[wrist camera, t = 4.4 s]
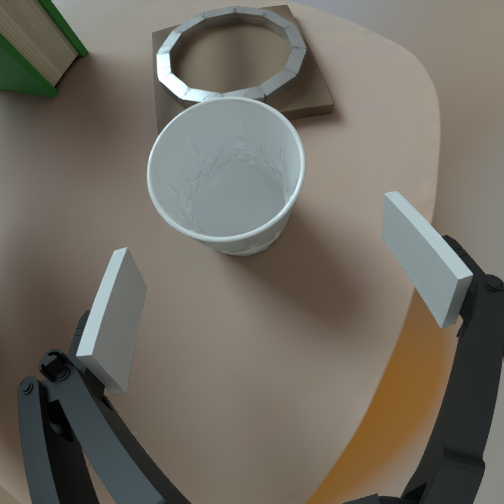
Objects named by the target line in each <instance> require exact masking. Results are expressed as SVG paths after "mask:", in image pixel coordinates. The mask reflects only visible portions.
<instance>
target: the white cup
mask: <svg viewBox="0 0 504 504" xmlns="http://www.w3.org/2000/svg"><path fill="white" fill-rule="evenodd" d="M305 171H306V158H305V152H304V147H303V144H302V141H301V139H300V137H299V135H298V133H297V131H296V130H295V128H294V127H293V125H292V124H291V123H290V122H289V120H288V119H287V118H286V117H285V116H283V115H282V114H281V113H280V112H278V111H277V110H276V109H274V108H272V107H271V106H269V105H267V104H265V103H262V102H260V101H257V100H253V99H249V98H243V97H220V98H214V99H210V100H206V101H203V102H200V103H198V104H196V105H193V106H191V107H190V108H188V109H186V110H184V111H183V112H181V113H180V114H179V115H177V116H176V117H175V118H174V119H173V120H172V121H170V122H169V123H168V125H167V126H166V127H165V128H164V129H163V130H162V132H161V133H160V135H159V136H158V138H157V139H156V141H155V143H154V145H153V148H152V150H151V153H150V156H149V160H148V166H147V184H148V190H149V194H150V197H151V199H152V202H153V204H154V206H155V207H156V209H157V211H158V212H159V214H160V215H161V216H162V217H163V219H164V220H165V221H166V222H167V223H169V224H170V225H171V226H172V227H173V228H175V229H176V230H178V231H179V232H181V233H183V234H185V235H187V236H189V237H191V238H192V239H194V240H196V241H198V242H200V243H202V244H203V245H205V246H208V247H210V248H212V249H215V250H217V251H220V252H223V253H225V254H230V255H238V256H249V255H252V254H255V253H258V252H261V251H264V250H266V249H267V248H268V247H269V246H270V245H271V244H272V243H273V242H274V241H275V240H276V239H277V238H278V237H279V236H280V234H281V232H282V230H283V229H284V227H285V225H286V223H287V221H288V220H289V218H290V216H291V214H292V211H293V209H294V206H295V203H296V201H297V198H298V196H299V193H300V191H301V188H302V186H303V182H304V178H305Z"/></svg>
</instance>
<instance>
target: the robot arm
mask: <svg viewBox="0 0 504 504" xmlns="http://www.w3.org/2000/svg"><path fill="white" fill-rule="evenodd" d="M382 239H383V240H384V242H385V243H386V244H387V246H388V247H389V249H390V250H391V252H392V253H393V254H394V256H395V257H396V259H397V260H398V262H399V263H400V265H401V266H402V268H403V269H404V270H405V272H406V273H407V275H408V276H409V278H410V280H411V281H412V283H413V284H414V286H415V287H416V289H417V290H418V292H419V293H420V295H421V297H422V298H423V300H424V301H425V303H426V304H427V306H428V308H429V309H430V311H431V312H432V314H433V316H434V317H435V319H436V321H437V323H438V324H439V326H440V328H441V329H442V328H445V327H447V326H450V325H453V324H455V323H456V320H457V318H458V316H459V314H460V315H461V317H462V319H463V323H462V325H461V327H460V329H459V332H458V334H457V337H459V339H458V344H457V349H456V353H455V358H454V362H453V366H452V370H451V374H450V377H449V381H448V385H447V388H446V392H445V395H444V398H443V401H442V405H441V408H440V411H439V414H438V417H437V420H436V423H435V426H434V428H433V431H432V434H431V436H430V439H429V442H428V444H427V447H426V449H425V452H424V454H423V456H422V459H421V461H420V463H419V466H418V468H417V470H416V472H415V473H414V474H413V476H412V477H411V479H410V481H409V482H408V484H407V486H406V488H405V490H404V492H403V494H402V496H401V498H398V497H391V496H378V494H374V495H370V496H367V497H364V498H360V499H357V500H353V501H349V502H345V503H343V504H473V502H474V499H475V497H476V494H477V492H478V489H479V486H480V483H481V481H482V478H483V475H484V471H485V462H484V461H483V452H484V449H485V445H486V442H487V438H488V434H489V431H490V427H491V422H492V417H493V413H494V409H495V403H496V399H497V393H498V387H499V380H500V374H501V367H502V359H503V358H504V283H503V281H502V280H501V279H499V278H498V277H496V276H494V275H489V274H487V275H486V274H485V273H484V272H483V271H482V269H481V268H480V267H479V266H478V265H477V264H476V262H475V261H474V260H473V259H472V258H471V257H470V256H469V255H468V253H467V252H466V251H465V250H464V249H463V248H462V246H461V245H460V244H459V243H458V242H457V241H456V240H454V239H453V238H451V237H449V236H448V235H445V236H440V235H439V234H438V233H437V232H436V231H435V230H434V228H433V227H432V226H431V225H430V224H429V223H428V222H427V221H426V220H425V219H424V218H423V217H422V216H421V215H420V214H419V213H418V211H417V210H416V209H415V208H414V207H413V206H412V205H411V204H410V203H409V202H408V201H407V200H406V199H405V198H404V197H403V196H402V195H400V194H399V193H398V192H397V191H394V192H388V193H384V209H383V230H382ZM146 290H147V286H146V284H145V282H144V280H143V278H142V276H141V274H140V272H139V270H138V268H137V266H136V264H135V262H134V260H133V258H132V256H131V254H130V252H129V250H128V248H127V247H126V248H122V249H118V250H114V252H113V255H112V257H111V260H110V262H109V264H108V267H107V269H106V272H105V274H104V277H103V279H102V282H101V285H100V287H99V290H98V292H97V295H96V298H95V300H94V303H93V306H92V309H91V310H88V311H86V312H85V313H84V314H83V316H82V317H81V318H80V320H79V323H78V325H77V328H76V329H77V330H76V331H75V334H74V337H73V340H72V343H71V346H70V349H69V352H68V355H67V357H66V355H65V354H64V353H63V352H62V351H61V350H60V349H52V350H50V351H48V352H47V353H46V354H45V355H44V356H43V357H42V359H41V361H40V364H39V371H40V372H41V373H42V374H43V375H44V376H45V377H46V378H47V379H45V380H43V381H39V380H38V379H37V378H35V377H34V376H28V377H26V378H25V379H23V380H22V382H21V383H20V385H19V387H18V392H17V397H18V415H19V427H20V437H21V445H22V453H23V459H24V466H25V471H26V477H27V482H28V487H29V492H30V496H31V500H32V504H99V501H98V498H97V496H96V493H95V490H94V487H93V484H92V481H91V478H90V475H89V472H88V469H87V465H86V462H85V459H84V455H83V452H82V448H83V450H84V452H85V454H86V455H87V457H88V459H89V461H90V462H91V464H92V466H93V467H94V469H95V471H96V472H97V474H98V476H99V477H100V479H101V480H102V482H103V483H104V485H105V487H106V488H107V490H108V491H109V493H110V494H111V496H112V497H113V498H114V500H115V501H116V503H117V504H191V503H190V502H189V501H188V500H187V499H186V498H185V497H184V496H183V495H182V494H181V493H180V491H179V490H178V489H177V488H176V487H175V486H174V485H173V484H172V483H171V482H170V480H169V479H168V478H167V477H166V476H165V475H164V473H163V472H162V471H161V470H160V469H159V468H158V466H157V465H156V464H155V463H154V462H153V460H152V459H151V458H150V457H149V455H148V454H147V453H146V452H145V450H144V449H143V448H142V446H141V445H140V444H139V443H138V441H137V440H136V439H135V437H134V436H133V435H132V433H131V432H130V430H129V429H128V428H127V426H126V425H125V423H124V422H123V421H122V419H121V418H120V416H119V415H118V413H117V412H116V410H115V409H114V407H113V406H112V404H111V403H110V401H109V400H108V398H107V397H106V396H105V395H104V394H103V393H104V388H105V387H106V388H107V389H108V390H109V391H110V392H111V393H112V394H113V393H127V389H128V382H129V376H130V370H131V364H132V358H133V353H134V347H135V342H136V337H137V332H138V327H139V322H140V317H141V312H142V308H143V303H144V299H145V294H146ZM502 357H503V358H502ZM81 446H82V448H81Z"/></svg>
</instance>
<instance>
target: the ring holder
mask: <svg viewBox="0 0 504 504" xmlns="http://www.w3.org/2000/svg"><path fill="white" fill-rule="evenodd" d="M152 39H153V65H154V84H155V99H156V112H157V124H158V135H160V133H161V132H162V130H163V129H164V128H165V127H166V126H167V125H168V123H169V122H170V121H172V120H173V119H174V118H175V117H176V116H177V115H179V114H180V113H181V112H183V111H184V110H186V109H188V108H190V107H191V106H193V105H196V104H198V103H200V102H203V101H206V100H210V99H214V98H220V97H243V98H249V99H253V100H257V101H260V102H262V103H265V104H267V105H269V106H271V107H272V108H274V109H276V110H277V111H278V112H280V113H281V114H282V115H283V116H285V117H286V118H287V119H288V120H290V119H296V118H302V117H308V116H315V115H322V114H329V113H332V109H333V106H334V103H333V101H332V98H331V96H330V93H329V91H328V89H327V86H326V84H325V82H324V79H323V77H322V75H321V72H320V70H319V68H318V66H317V64H316V61H315V59H314V57H313V55H312V53H311V51H310V49H309V46H308V44H307V42H306V40H305V38H304V36H303V34H302V32H301V30H300V28H299V26H298V24H297V22H296V21H295V19H294V17H293V15H292V13H291V11H290V9H289V7H288V6H287V5H281V6H272V7H264V8H250V7H242V6H236V8H235V6H232V7H227V8H222V9H217V10H212V11H208V12H203V13H202V14H201V13H200V14H199V15H197V16H195V17H193V18H192V19H190V20H188V21H187V22H185V23H183V24H180V25H177V26H173V27H170V28H166V29H163V30H160V31H157V32H154V33H152Z"/></svg>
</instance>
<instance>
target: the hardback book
mask: <svg viewBox="0 0 504 504" xmlns="http://www.w3.org/2000/svg"><path fill="white" fill-rule="evenodd" d="M87 53H88V51H87V49H86V48H85V47H84V45H83V44H82V43H81V41H80V40H79V38H78V37H77V36H76V34H75V33H74V32H73V30H72V29H71V27H70V26H69V25H68V23H67V22H66V21H65V19H64V18H63V16H62V15H61V14H60V12H59V11H58V10H57V8H56V7H55V5H54V4H53V3H52V1H51V0H0V90H6V91H13V92H20V93H26V94H32V95H38V96H44V97H50V98H55V97H56V95H57V94H58V91H57V90H56V89H55V88H54V87H55V85H56V84H57V82H58V81H59V79H60V78H61V77H62V75H63V74H64V72H65V71H66V70H67V68H68V67H69V66H70V64H71V63H72V62H73V60H74V59H75V58H76V57H85V55H86V54H87Z"/></svg>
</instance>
